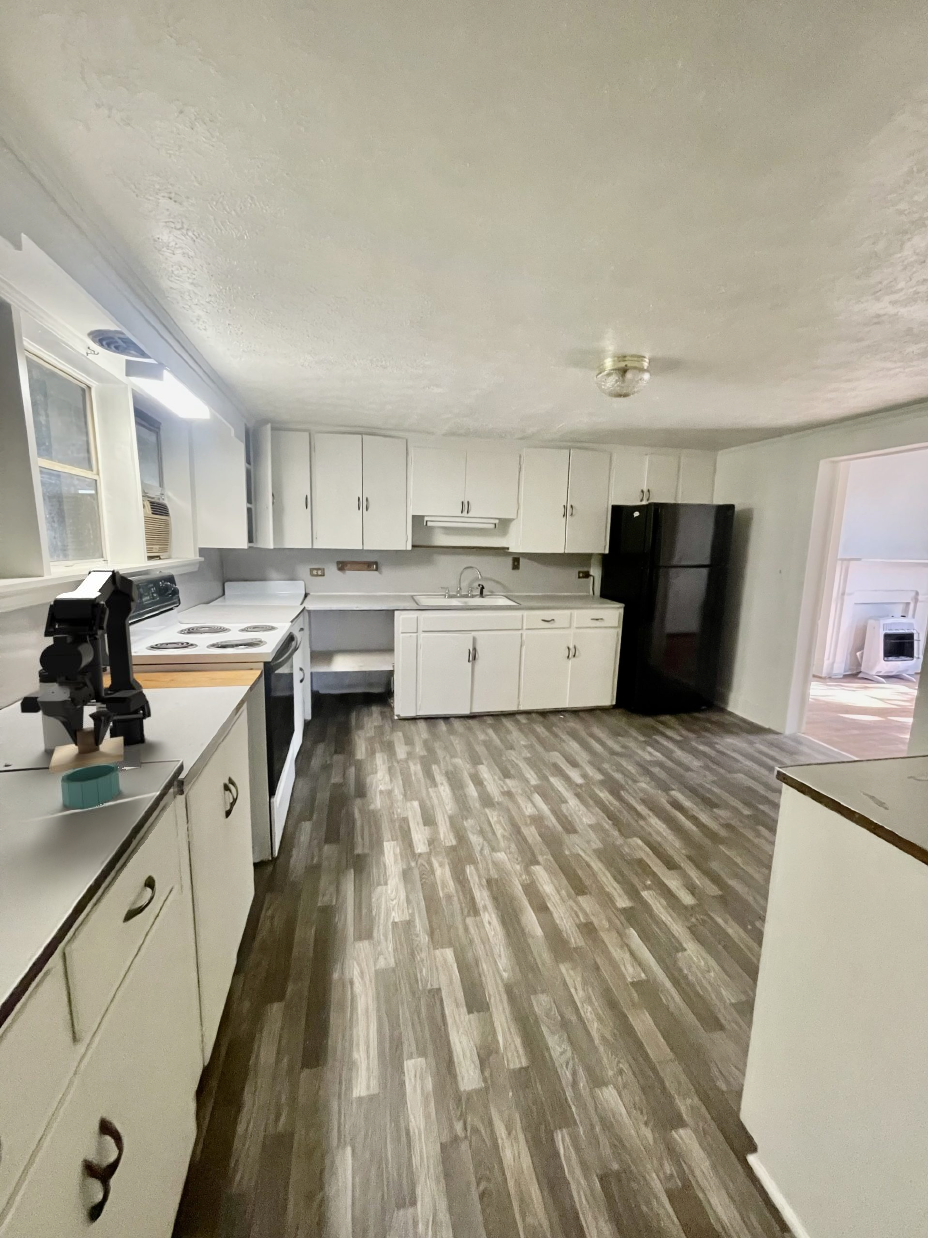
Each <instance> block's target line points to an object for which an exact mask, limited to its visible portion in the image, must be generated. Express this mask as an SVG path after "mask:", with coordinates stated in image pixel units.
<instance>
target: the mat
mask: <svg viewBox="0 0 928 1238" xmlns="http://www.w3.org/2000/svg"><path fill="white" fill-rule="evenodd" d="M141 759H142V758H141V750H140V748H138V749H132V750H125V751H123V761H117V762H112V763H106V764H114V765H117V766H118V767H119V768H118V770H119V773H120V772H125V771H127V770H126V769H122V768H124V767H140V768H139V769H141V768H142V762H141V761H142V760H141ZM72 770H75V769H72Z"/></svg>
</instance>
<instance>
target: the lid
mask: <svg viewBox="0 0 928 1238" xmlns="http://www.w3.org/2000/svg"><path fill="white" fill-rule="evenodd" d="M77 744H78V746H75V744H71V745H64V746H58V747H56V748H55V751H54V752H53V753H52V754H53V755H52V756H51V761H50V762H49V763H50V764H49V766H48V767H49V768H48V769H49V770H48V771H49V774H54V773H60V772H64V771H65V772H66V771H72V770H73V769H78V768H83V767H89V766H95V765H100V764H106V763H112V762H117V761H123V752H124V747H123V737H116V738H110V737H109V738H104V740H103V742H102V744H101V745H100V746H96V744H95V740H94V726H89V727H83V729H80V730H78V731H77Z"/></svg>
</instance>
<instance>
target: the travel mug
mask: <svg viewBox="0 0 928 1238" xmlns="http://www.w3.org/2000/svg"><path fill="white" fill-rule="evenodd" d="M37 672H38V674H37V675H38V686H39V687H38V689H39V691H42V690H48V689H49V688H50V687H52V686H54V685H56V683H57V676H53V675H50V674H48V673H47V672H45V671H44V670H43V669H42V668H40V669H39V670H38V671H37ZM40 712H41V723H42V735H43V736H42V737H43V744H44V747H43V748H44V752H48V753H54V751H55V748H56V747H58V746H64V745H71V744H74V743H73V741H72V739H71V737H70V736H69V734H68V732H67V731H66V729H65V727H64V726H63V725H62V723H61V722H60V721H59V720H57V719H54V718H52V717H47V716H45V715H43V713H42V710H41V711H40Z"/></svg>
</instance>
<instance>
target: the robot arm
mask: <svg viewBox="0 0 928 1238" xmlns="http://www.w3.org/2000/svg"><path fill="white" fill-rule="evenodd" d="M138 601H139V590H138V587H137V585H136V584H135V582H134V581H133V579H130V578H128V577H126V576H124V575H122V574H121V572H120V571H119V570H118V569H117V570H116V569H114V568H113V569H112V568H110V569H109V568H93V569H90V570H88V574H87V577H86V578H85V579H84V581H83V582H81V584H80V585H79V586H78V588H77V589H76V590H74V591H70V592H65V593H61V594H59V595H58V596H56V597H55V598H54V599H53V601H52V602H50V604H49V607H48V611H47V617H46V622H45V628H44V632H43V637H44V638H52V642H53V643H52V644H50V645H49V644H48V645H47V646H46V647H44V649H43V650H42V652H41V653H40V655H39V661H38V662H39V664H40V668H41V669H43V670H44V671H45V672H47V673H48V674H50V675H53V676H57V683H56V685H54V686H52V687H50V688H49V689H48V690H42V691H40V690H39V691H36V692H33V693H31V694H28V695H26V696H24V697H23V698H22V700H21V701H20V703H19V706H20V713H22V714H38V713H40V712H41V710H42V713H43V715H45V716H47V717H52V718H54V719H57V720H59V721H60V722H61V723H62V725H63V726H64V727H65V729H66V731H67V732H68V734H69V736H70V737H71V739H72V741H73V743H74V744H75V746H78V744H77V731H78V730H80V729H83V728H84V714H85V713H84V712H85V707H95V708H96V709H95V710H96V711H94V712H92V713H90V714H88V716H89V718H90V719H91V720H92V721H93V727H94V740H95V744H96V746H100V745H101V744H102V742H103V740H104V739H105V737H106V735H107V733H108V730H109V739H110V738H116V737H123V748H125V747H129V746H137V745H141V744H145V743H146V737H145V736H146V735H145V724H144V721H145V720H147V719H149V718H151V717H152V709H151V704H150V701H149V700H148V698H147V696H146V695H147V694H146V693H144V689H143V685H141V683H140V682H139V681H138V680H137V679H136V678H135V676H134V667H133V654H132V653H133V652H132V640H131V632H130V631H131V630H130V617H131V615H132V614H133V612H134V611H135V610H136V607H137V603H138ZM103 631H105V635H106V641H107V642H106V645H107V654H108V656H107V657H108V663H109V665H108V666H109V674H110V677H109V678H110V684H109V685H108V686H104V673H106V672H108V666H107V665H103V660H102V659H103V658H102V647H101V644H102V643H101V635H102V633H103ZM42 713H41V714H42Z"/></svg>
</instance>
